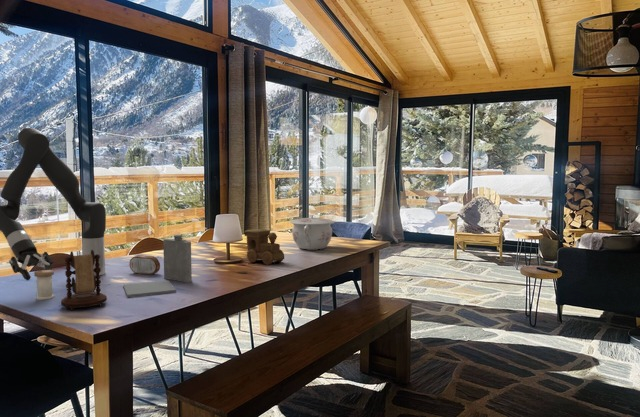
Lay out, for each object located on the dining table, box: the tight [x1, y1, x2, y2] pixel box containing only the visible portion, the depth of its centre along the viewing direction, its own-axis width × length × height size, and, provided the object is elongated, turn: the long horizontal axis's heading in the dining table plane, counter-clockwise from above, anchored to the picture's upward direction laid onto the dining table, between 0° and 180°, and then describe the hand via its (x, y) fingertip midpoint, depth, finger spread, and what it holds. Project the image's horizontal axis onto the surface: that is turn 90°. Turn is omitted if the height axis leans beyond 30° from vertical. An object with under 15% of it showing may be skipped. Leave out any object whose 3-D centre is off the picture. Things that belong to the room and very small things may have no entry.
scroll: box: [60, 250, 108, 312], centre depth 174 cm, size 15×15×20 cm
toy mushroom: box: [33, 269, 55, 301], centre depth 185 cm, size 6×6×10 cm
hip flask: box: [162, 234, 193, 283], centre depth 215 cm, size 16×4×20 cm, turn 58°
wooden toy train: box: [244, 228, 285, 266], centre depth 255 cm, size 20×11×17 cm, turn 56°
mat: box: [122, 279, 177, 298], centre depth 198 cm, size 18×18×1 cm
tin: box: [129, 254, 161, 275], centre depth 227 cm, size 15×3×8 cm, turn 74°
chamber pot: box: [289, 214, 335, 251], centre depth 299 cm, size 28×28×21 cm
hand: (40, 276), depth 186 cm, fingers open, 8 cm apart
